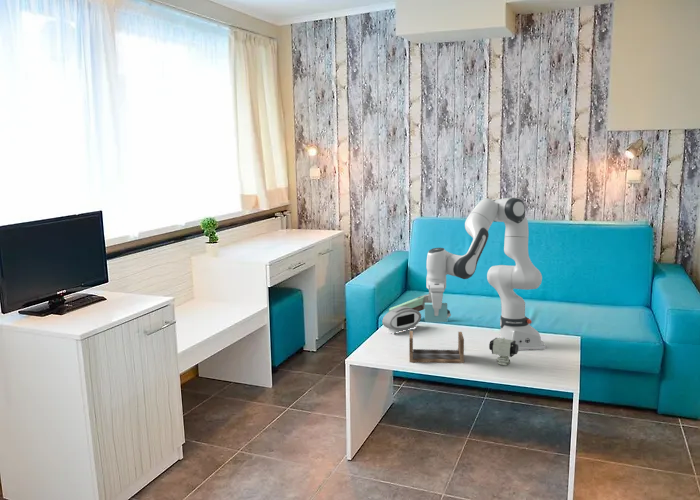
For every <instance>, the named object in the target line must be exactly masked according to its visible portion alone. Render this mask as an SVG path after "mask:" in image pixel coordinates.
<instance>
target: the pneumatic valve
mask: <svg viewBox="0 0 700 500" xmlns="http://www.w3.org/2000/svg"><path fill="white" fill-rule="evenodd" d="M515 342H516V341H514V340H508V339H505V338H503V339H501V338H499V337H495V338H493V339H492V340H490V342H489V344H488V348H489V350H490V351H491V355H497V356H498V357H497V358H496V362H497V364H498V365H501V366H504V367H507V366H508V365H509V364H510V363H511V359H510V358H512V357H514V356H515V355H517V354H518V352H519V350H518V344H516V343H515Z"/></svg>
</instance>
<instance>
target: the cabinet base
mask: <svg viewBox="0 0 700 500" xmlns="http://www.w3.org/2000/svg"><path fill="white" fill-rule="evenodd" d="M413 333H414V331H413V330H409V338H408V339H409V341H408V343H409V344H408V346H409V363H435V364H437V363H438V364H439V363H443V364H464V363H465V353H464V350H465V338H464V335H463V332H462V331H457V333H458V339H457V341H458V342H457V343H458V344H457V345H458V347H457V348H458V349H430V348H429V349H427V348H425V349H423V348H422V349H421V348H420V349H418V348H416V349H415V348H414V343H413V342H414V337H413V336H414V334H413Z"/></svg>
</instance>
